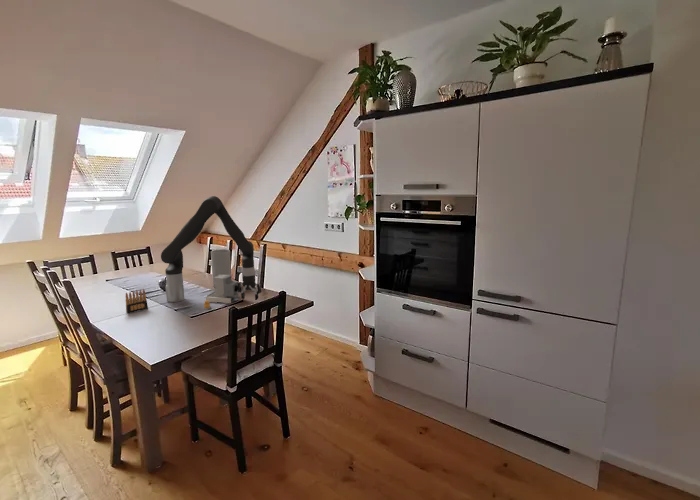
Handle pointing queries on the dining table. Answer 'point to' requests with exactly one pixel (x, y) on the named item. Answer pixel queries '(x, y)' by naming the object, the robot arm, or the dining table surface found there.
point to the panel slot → (219, 298)
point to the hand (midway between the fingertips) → (250, 299)
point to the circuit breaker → (225, 286)
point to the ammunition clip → (136, 302)
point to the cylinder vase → (220, 262)
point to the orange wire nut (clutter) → (206, 304)
